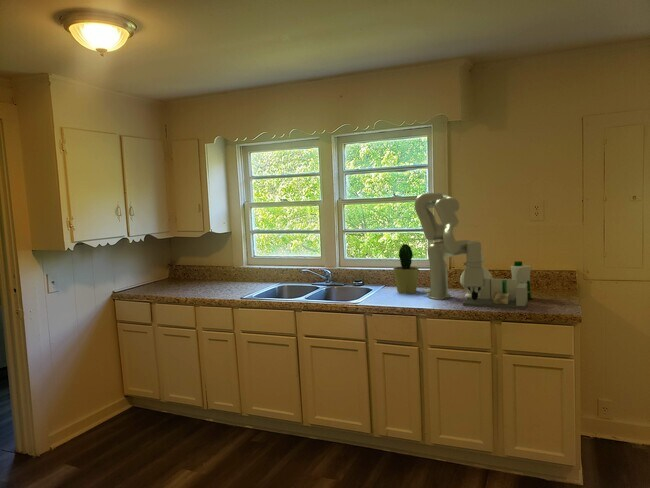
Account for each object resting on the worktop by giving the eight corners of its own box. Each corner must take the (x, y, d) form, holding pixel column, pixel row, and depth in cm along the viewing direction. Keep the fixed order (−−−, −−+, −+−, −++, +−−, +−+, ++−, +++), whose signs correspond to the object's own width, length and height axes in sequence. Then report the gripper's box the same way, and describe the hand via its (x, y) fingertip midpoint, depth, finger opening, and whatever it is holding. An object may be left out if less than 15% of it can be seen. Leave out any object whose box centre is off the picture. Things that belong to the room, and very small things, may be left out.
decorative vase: (500, 296, 273) (499, 252, 271) (474, 300, 267) (473, 254, 265) (479, 291, 290) (478, 249, 288) (454, 295, 283) (452, 252, 281)
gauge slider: (492, 303, 250) (492, 285, 250) (495, 299, 259) (495, 281, 258) (507, 304, 247) (507, 285, 246) (510, 300, 256) (509, 282, 255)
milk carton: (522, 296, 270) (522, 260, 268) (533, 299, 261) (533, 262, 260) (509, 298, 268) (508, 262, 266) (519, 301, 259) (519, 263, 257)
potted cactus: (389, 291, 305) (387, 243, 302) (412, 288, 309) (410, 241, 306) (400, 295, 290) (398, 245, 287) (424, 292, 295) (422, 243, 292)
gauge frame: (463, 305, 256) (462, 282, 255) (468, 300, 267) (467, 277, 266) (524, 309, 242) (524, 284, 241) (527, 303, 254) (527, 279, 252)
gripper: (458, 265, 256) (458, 300, 258) (487, 266, 249) (488, 301, 251) (461, 263, 263) (461, 297, 265) (490, 264, 256) (490, 298, 258)
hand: (474, 299), depth 258 cm, fingers closed
